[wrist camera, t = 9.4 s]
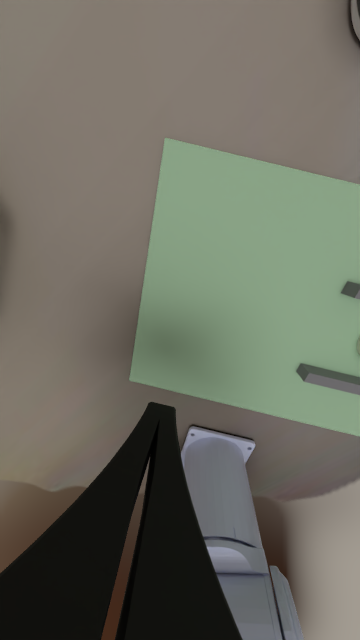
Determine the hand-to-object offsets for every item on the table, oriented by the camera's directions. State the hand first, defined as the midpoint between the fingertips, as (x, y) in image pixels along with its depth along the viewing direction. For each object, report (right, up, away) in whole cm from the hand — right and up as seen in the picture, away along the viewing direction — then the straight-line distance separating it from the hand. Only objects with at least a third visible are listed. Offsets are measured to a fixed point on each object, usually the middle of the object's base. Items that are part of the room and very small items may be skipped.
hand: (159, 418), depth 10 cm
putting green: (+10, +5, +7) cm, 14 cm away
